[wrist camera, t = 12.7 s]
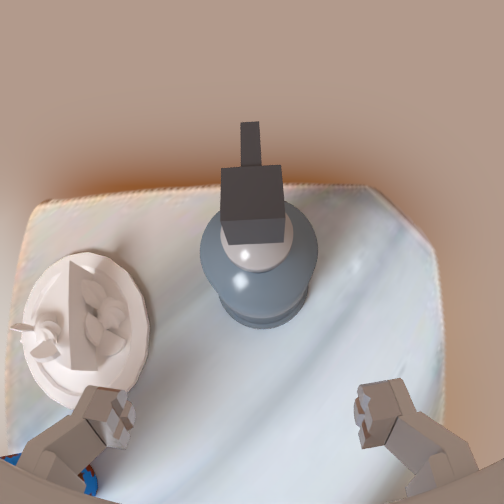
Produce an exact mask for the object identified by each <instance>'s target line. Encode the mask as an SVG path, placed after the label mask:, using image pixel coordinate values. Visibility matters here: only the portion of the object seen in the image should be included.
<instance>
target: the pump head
mask: <svg viewBox="0 0 504 504" xmlns="http://www.w3.org/2000/svg"><path fill="white" fill-rule="evenodd" d="M285 220H286V216H285V204H284V193H283V181H282V171H281V165H269V166H262V165H261V147H260V129H259V122H243V123H241V167H233V168H221V201H220V223H221V225H222V228H223V231H224V234H225V237H226V239H227V242H228V245H244V244H265V243H284V232H285Z"/></svg>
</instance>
